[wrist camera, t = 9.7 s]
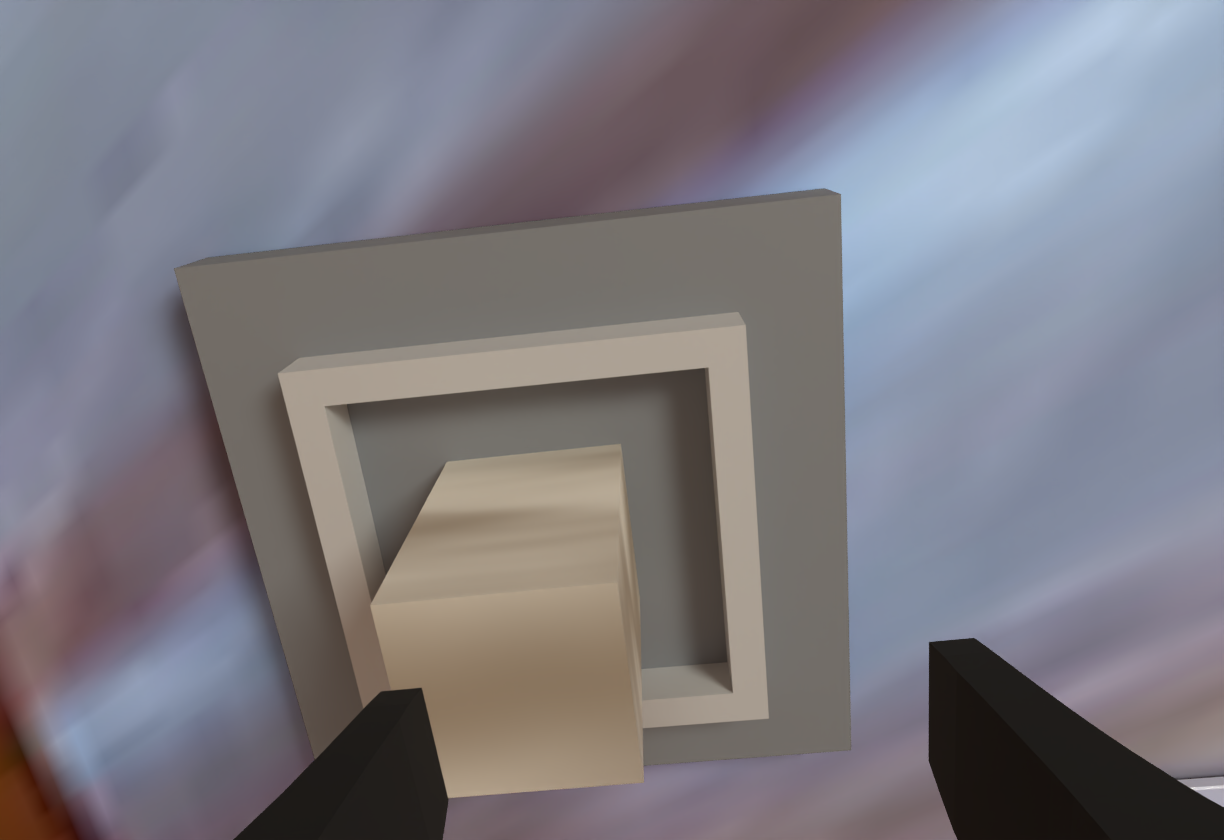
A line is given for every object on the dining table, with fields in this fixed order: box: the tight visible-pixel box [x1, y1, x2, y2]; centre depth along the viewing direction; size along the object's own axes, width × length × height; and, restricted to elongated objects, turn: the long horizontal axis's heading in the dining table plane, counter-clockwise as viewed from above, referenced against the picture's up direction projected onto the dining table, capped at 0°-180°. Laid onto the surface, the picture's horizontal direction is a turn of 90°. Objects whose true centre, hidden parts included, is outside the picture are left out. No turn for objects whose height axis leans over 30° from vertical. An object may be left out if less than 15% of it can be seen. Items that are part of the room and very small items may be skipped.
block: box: [370, 444, 644, 798], centre depth 17 cm, size 4×4×6 cm
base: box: [174, 188, 851, 766], centre depth 20 cm, size 14×14×3 cm
